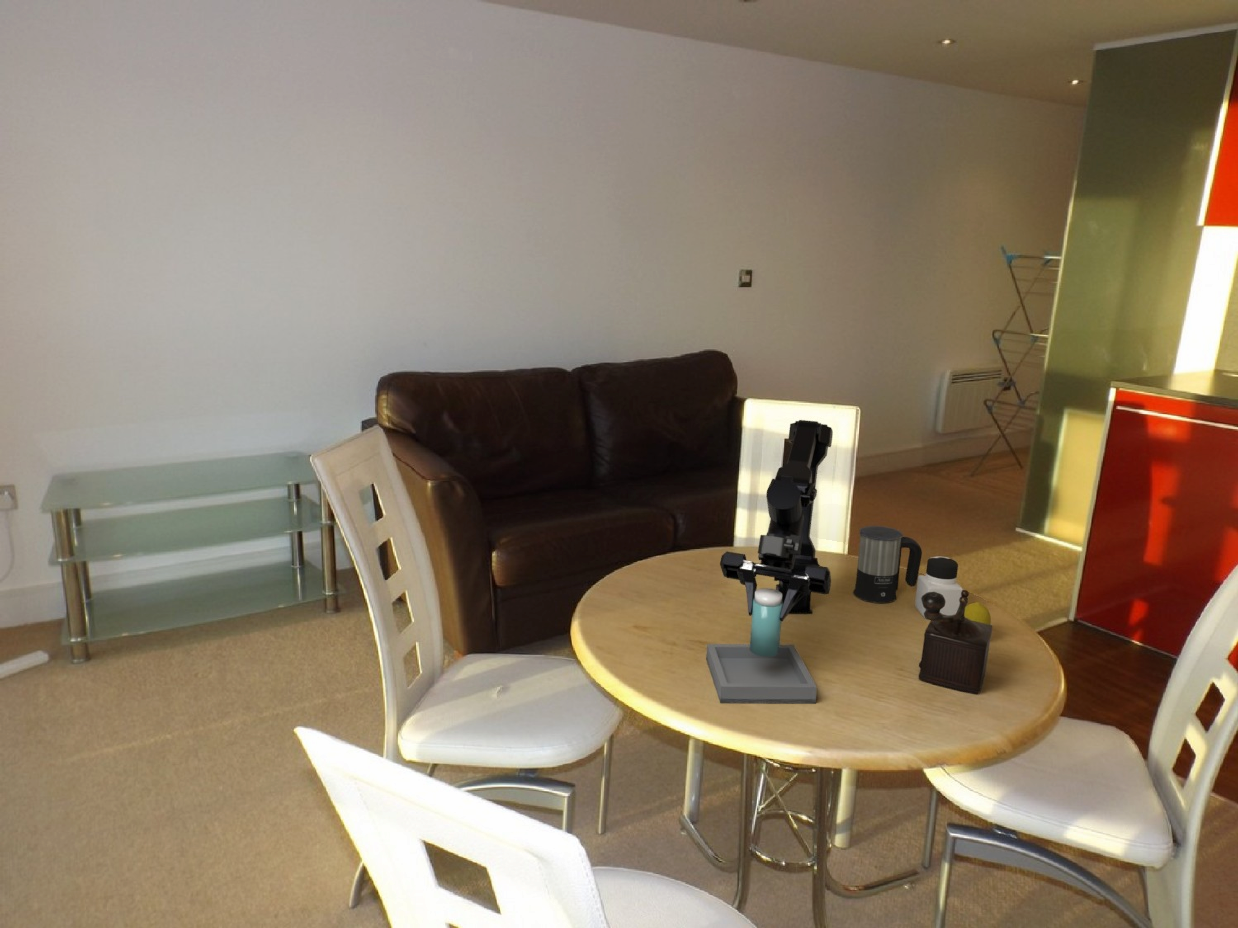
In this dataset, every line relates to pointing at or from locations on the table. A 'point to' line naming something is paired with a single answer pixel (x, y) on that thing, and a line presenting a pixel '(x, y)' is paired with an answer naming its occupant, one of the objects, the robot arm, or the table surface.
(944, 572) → the medicine bottle
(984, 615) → the lemon
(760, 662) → the tray
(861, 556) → the milk frother
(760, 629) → the ball
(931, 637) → the manual coffee grinder
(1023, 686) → the table surface
